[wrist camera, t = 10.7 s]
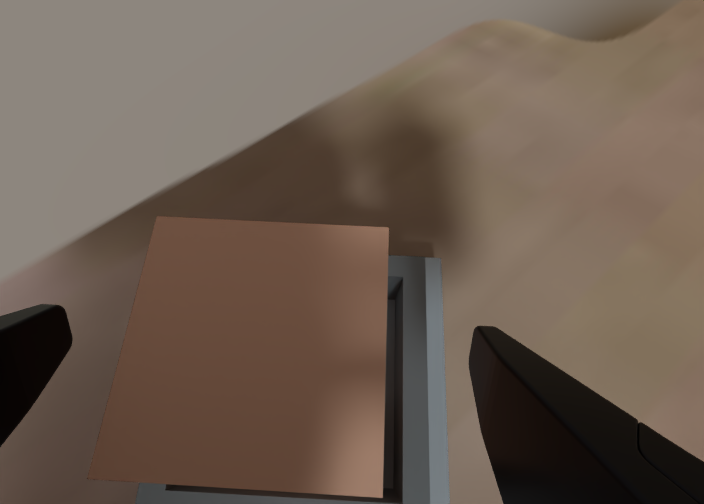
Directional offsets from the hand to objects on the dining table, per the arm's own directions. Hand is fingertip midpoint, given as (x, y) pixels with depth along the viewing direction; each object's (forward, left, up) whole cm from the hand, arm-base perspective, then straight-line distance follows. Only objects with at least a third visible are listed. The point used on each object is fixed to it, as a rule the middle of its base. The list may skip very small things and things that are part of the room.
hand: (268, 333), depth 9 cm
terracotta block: (0, 0, -8) cm, 8 cm away
